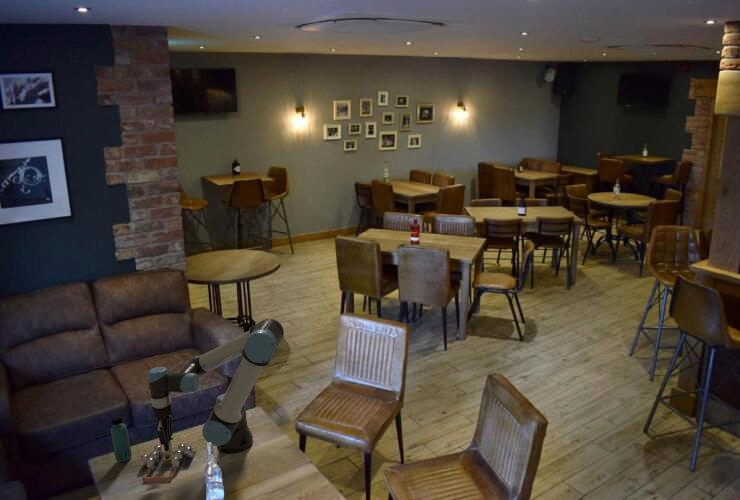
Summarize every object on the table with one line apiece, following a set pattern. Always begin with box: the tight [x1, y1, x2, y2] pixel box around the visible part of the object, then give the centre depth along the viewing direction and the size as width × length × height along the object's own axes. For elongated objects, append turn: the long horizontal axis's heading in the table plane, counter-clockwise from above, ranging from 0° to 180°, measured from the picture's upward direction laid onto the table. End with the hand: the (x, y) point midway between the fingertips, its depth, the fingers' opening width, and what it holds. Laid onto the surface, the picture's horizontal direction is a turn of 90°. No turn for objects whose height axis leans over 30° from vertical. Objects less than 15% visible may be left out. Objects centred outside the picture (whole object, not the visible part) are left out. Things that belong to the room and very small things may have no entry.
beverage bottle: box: [110, 415, 132, 463], centre depth 241 cm, size 6×7×20 cm
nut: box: [162, 454, 173, 466], centre depth 239 cm, size 4×5×3 cm
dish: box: [142, 467, 177, 483], centre depth 230 cm, size 11×6×3 cm, turn 91°
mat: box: [138, 450, 198, 473], centre depth 240 cm, size 20×13×1 cm, turn 91°
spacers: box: [140, 443, 194, 473], centre depth 238 cm, size 19×12×5 cm, turn 91°
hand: (168, 455), depth 241 cm, fingers closed
